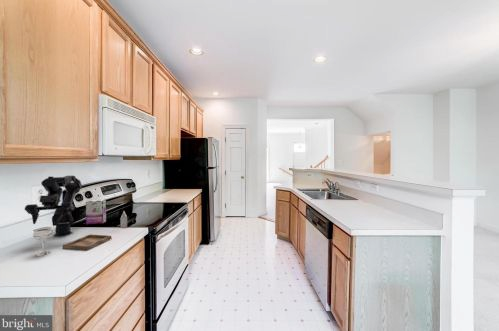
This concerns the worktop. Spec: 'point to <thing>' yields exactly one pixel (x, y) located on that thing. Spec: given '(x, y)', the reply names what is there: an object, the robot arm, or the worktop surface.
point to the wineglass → (42, 237)
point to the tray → (87, 242)
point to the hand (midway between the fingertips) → (45, 222)
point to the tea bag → (123, 220)
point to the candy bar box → (95, 211)
